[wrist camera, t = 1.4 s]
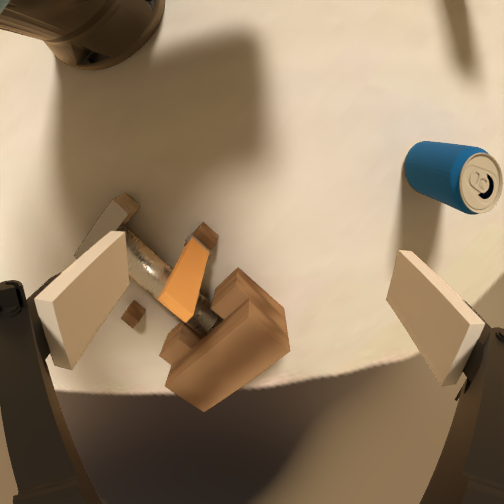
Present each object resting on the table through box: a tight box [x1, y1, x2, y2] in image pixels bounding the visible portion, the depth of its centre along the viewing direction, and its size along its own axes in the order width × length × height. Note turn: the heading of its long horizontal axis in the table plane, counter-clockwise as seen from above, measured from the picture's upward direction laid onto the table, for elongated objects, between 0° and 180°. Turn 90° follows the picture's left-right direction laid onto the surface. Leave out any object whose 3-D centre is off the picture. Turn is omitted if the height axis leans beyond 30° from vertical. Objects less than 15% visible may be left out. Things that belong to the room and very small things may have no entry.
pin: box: [74, 193, 219, 335], centre depth 37 cm, size 18×9×4 cm, turn 46°
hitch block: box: [121, 222, 290, 412], centre depth 37 cm, size 15×16×9 cm
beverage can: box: [405, 141, 503, 214], centre depth 29 cm, size 6×6×12 cm
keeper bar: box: [158, 234, 212, 323], centre depth 28 cm, size 3×15×1 cm
